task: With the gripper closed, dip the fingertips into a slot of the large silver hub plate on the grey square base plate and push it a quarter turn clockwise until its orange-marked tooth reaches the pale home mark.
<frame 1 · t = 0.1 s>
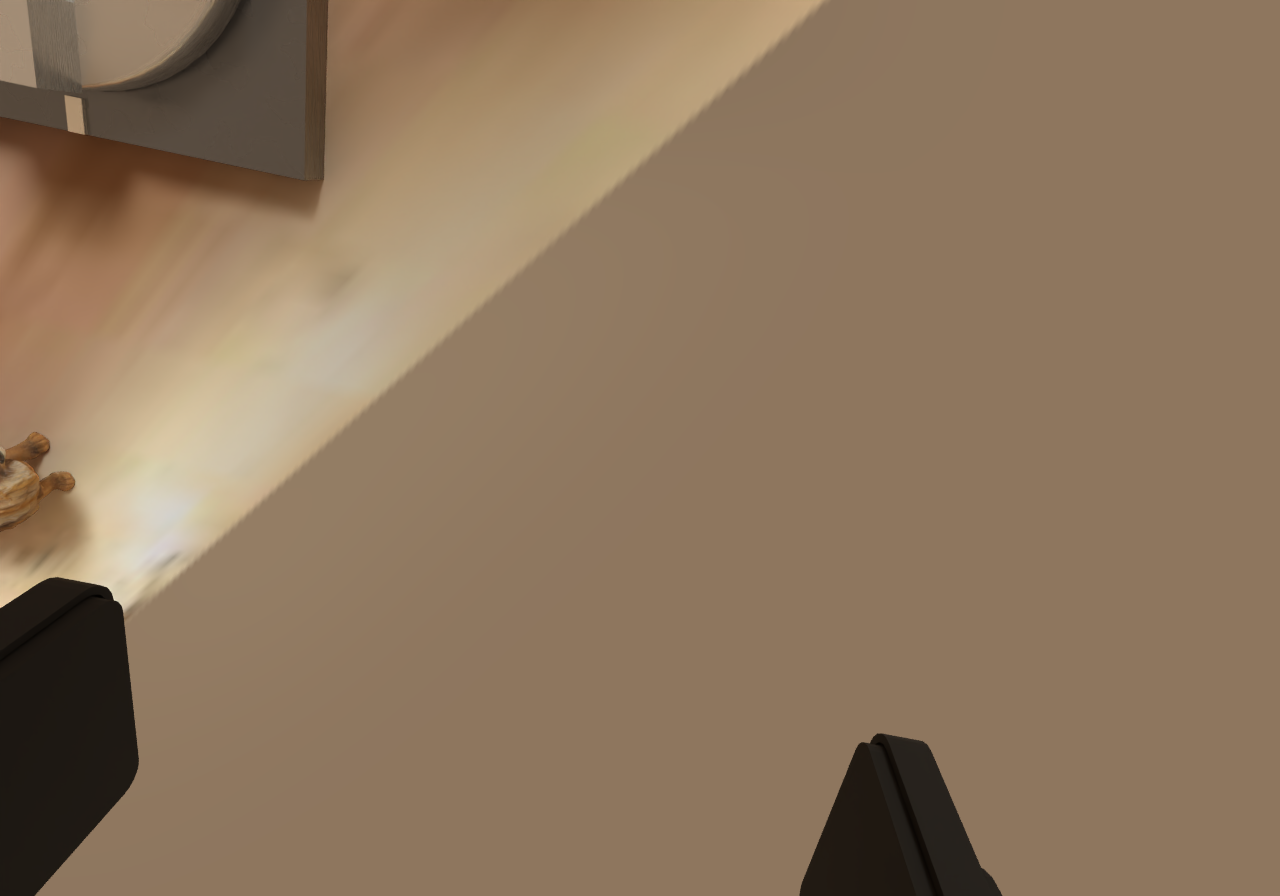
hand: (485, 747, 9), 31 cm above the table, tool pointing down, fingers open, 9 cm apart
lion figurine: (11, 454, 44), on the table
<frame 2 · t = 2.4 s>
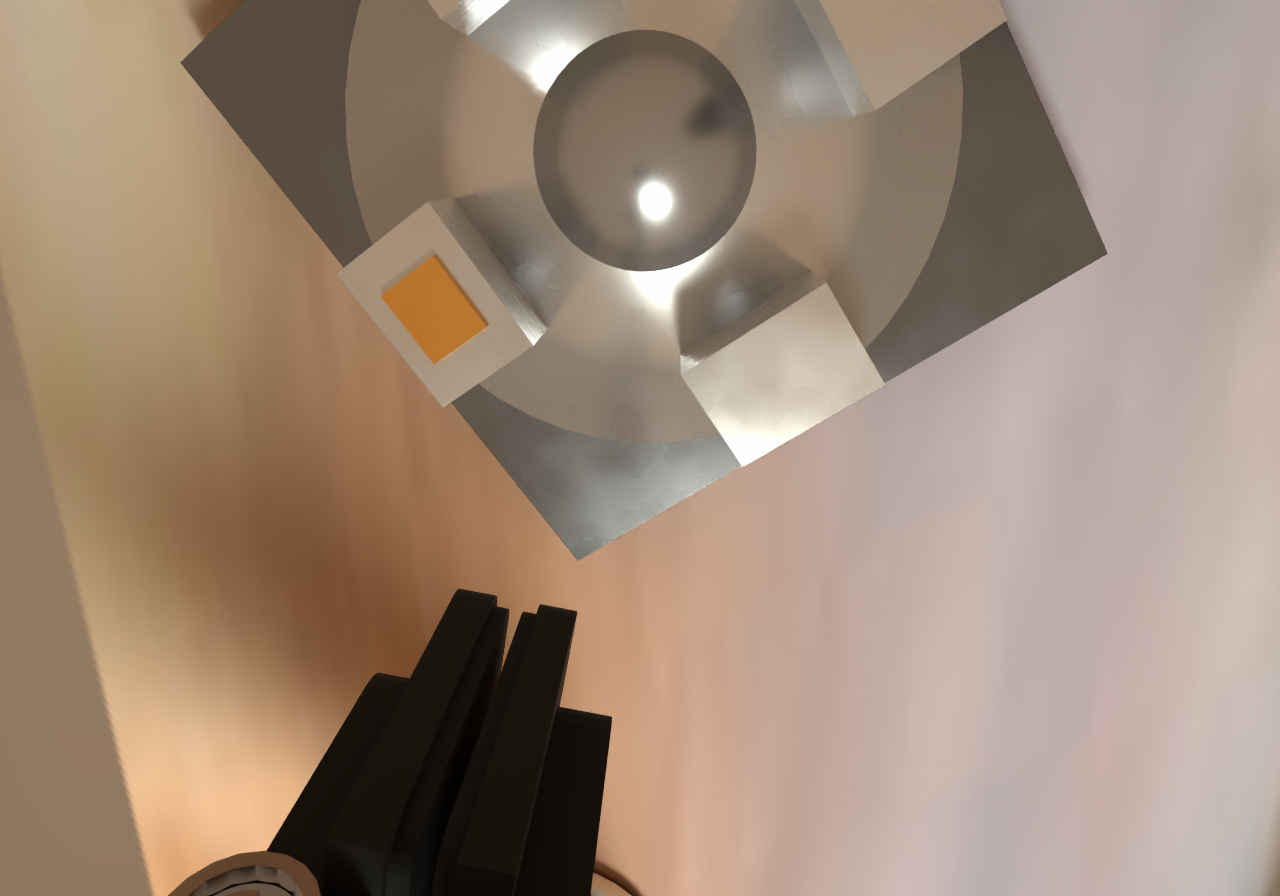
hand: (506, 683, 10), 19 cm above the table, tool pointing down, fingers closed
silver hub plate: (647, 158, 21), point 5 cm above the table, hinge at 0.0°
grey square base plate: (652, 159, 25), on the table
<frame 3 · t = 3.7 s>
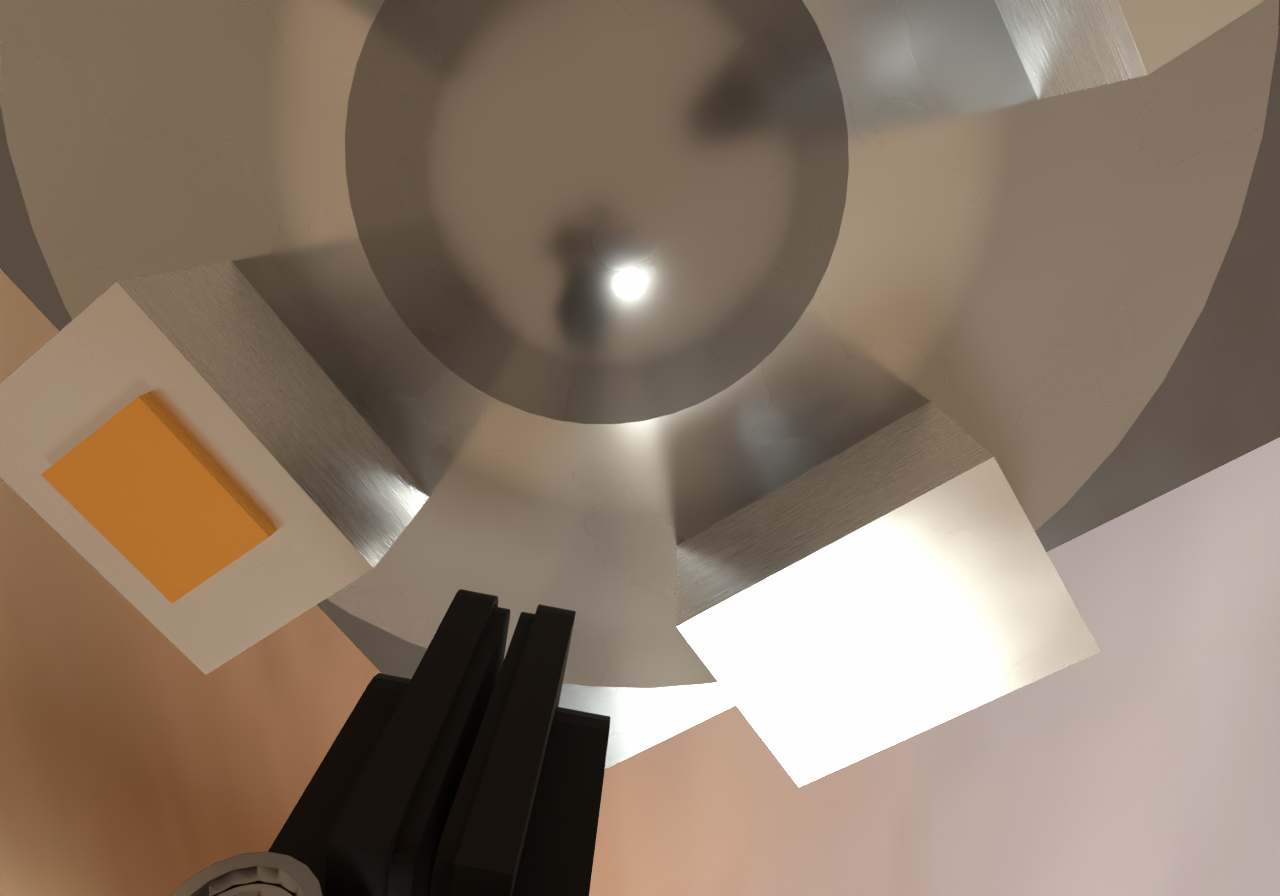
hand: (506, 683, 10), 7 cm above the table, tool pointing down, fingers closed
silver hub plate: (608, 185, 10), point 5 cm above the table, hinge at 0.0°
grey square base plate: (629, 184, 15), on the table
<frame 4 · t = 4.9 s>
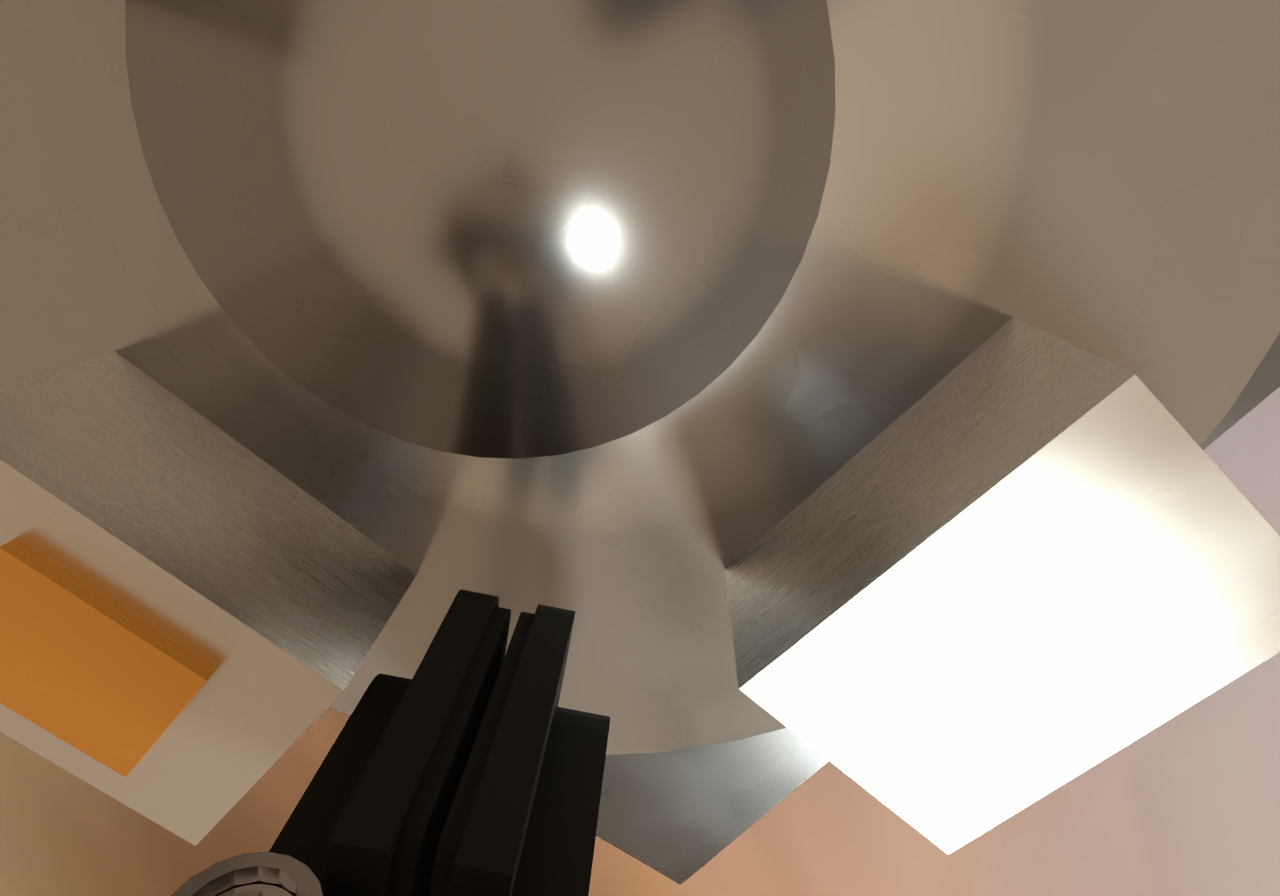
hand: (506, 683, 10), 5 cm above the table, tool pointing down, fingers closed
silver hub plate: (523, 140, 8), point 5 cm above the table, hinge at 4.8°, touching gripper
grey square base plate: (579, 147, 12), on the table
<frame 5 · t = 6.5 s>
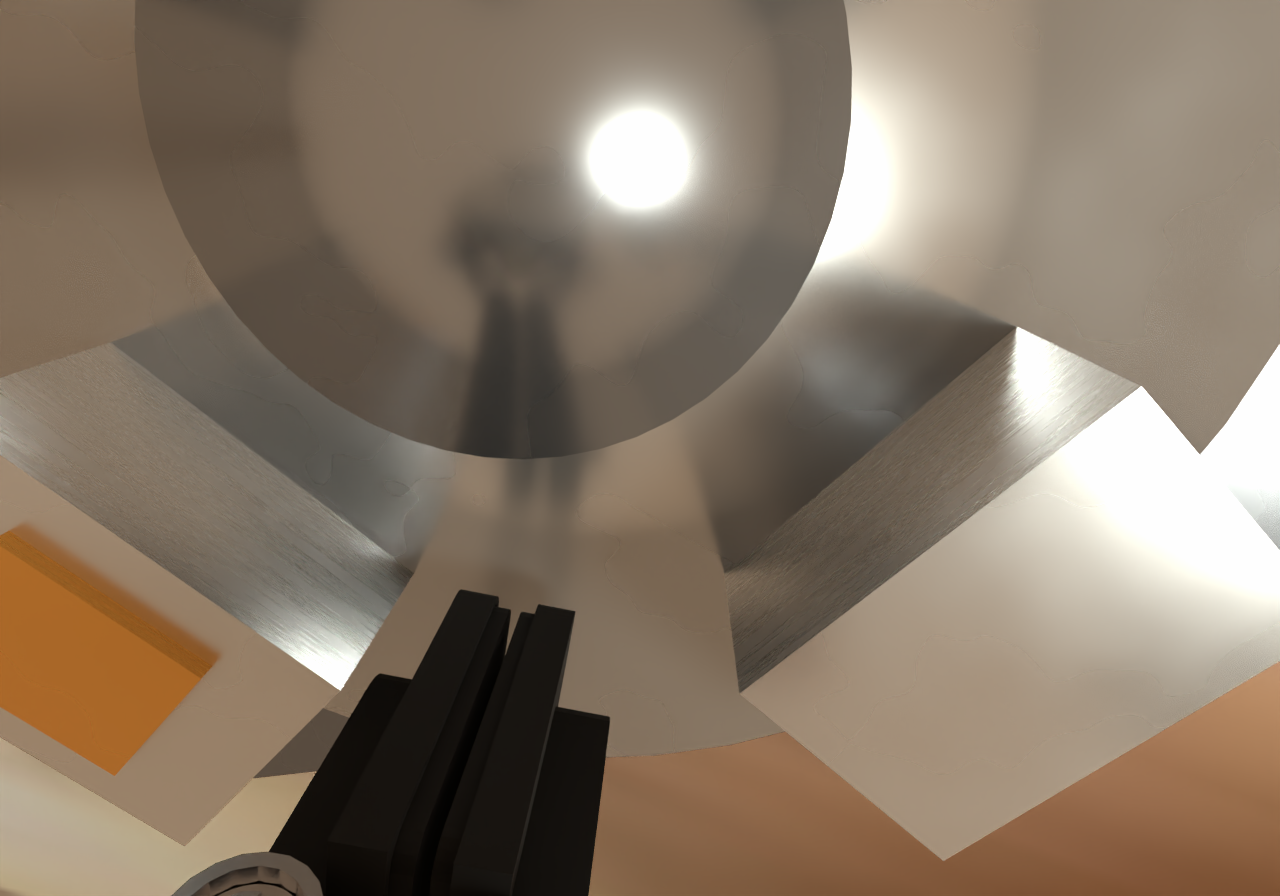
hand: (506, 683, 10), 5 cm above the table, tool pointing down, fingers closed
silver hub plate: (532, 139, 8), point 5 cm above the table, hinge at 54.1°, touching gripper
grey square base plate: (583, 147, 12), on the table
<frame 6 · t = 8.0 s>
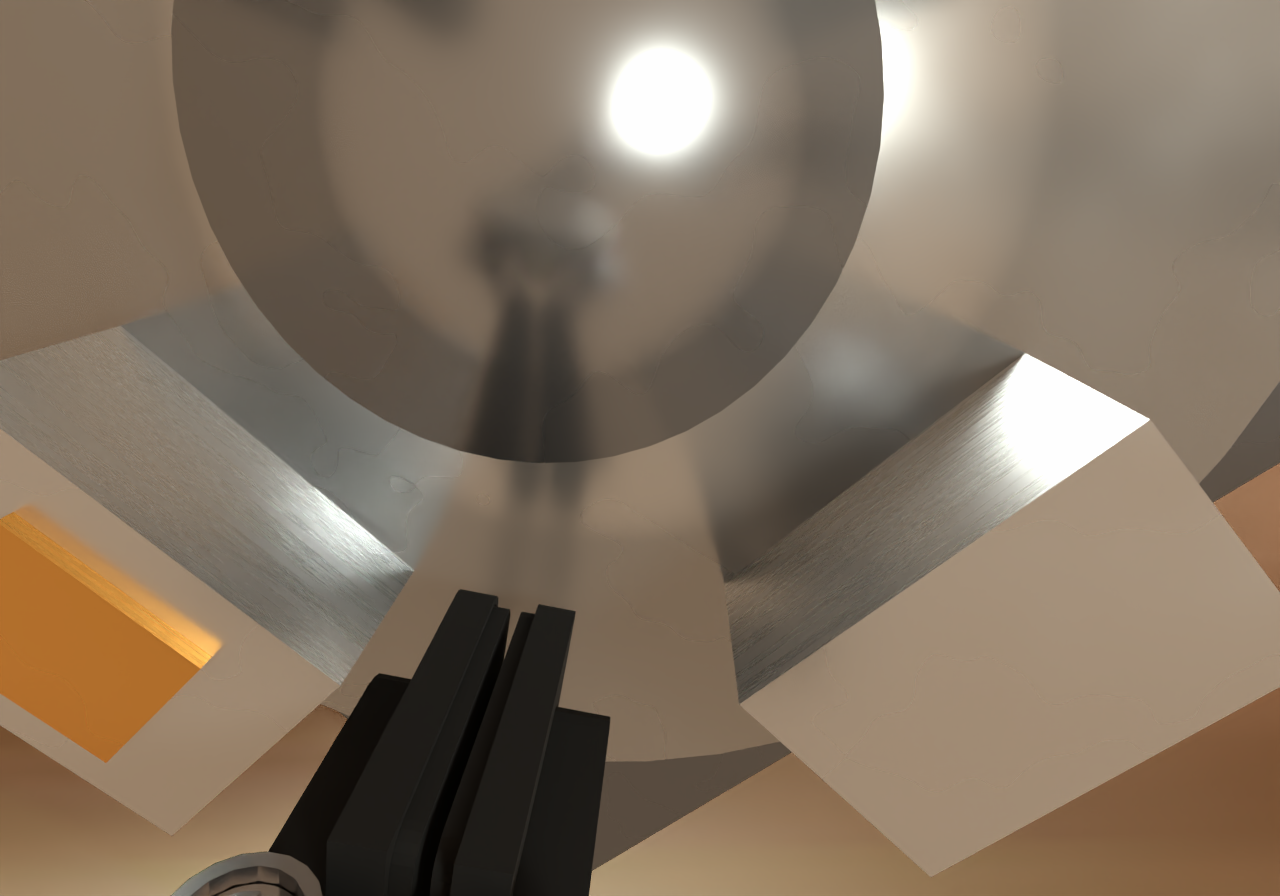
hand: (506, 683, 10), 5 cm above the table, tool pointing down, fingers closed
silver hub plate: (558, 145, 8), point 5 cm above the table, hinge at 87.4°
grey square base plate: (599, 152, 12), on the table
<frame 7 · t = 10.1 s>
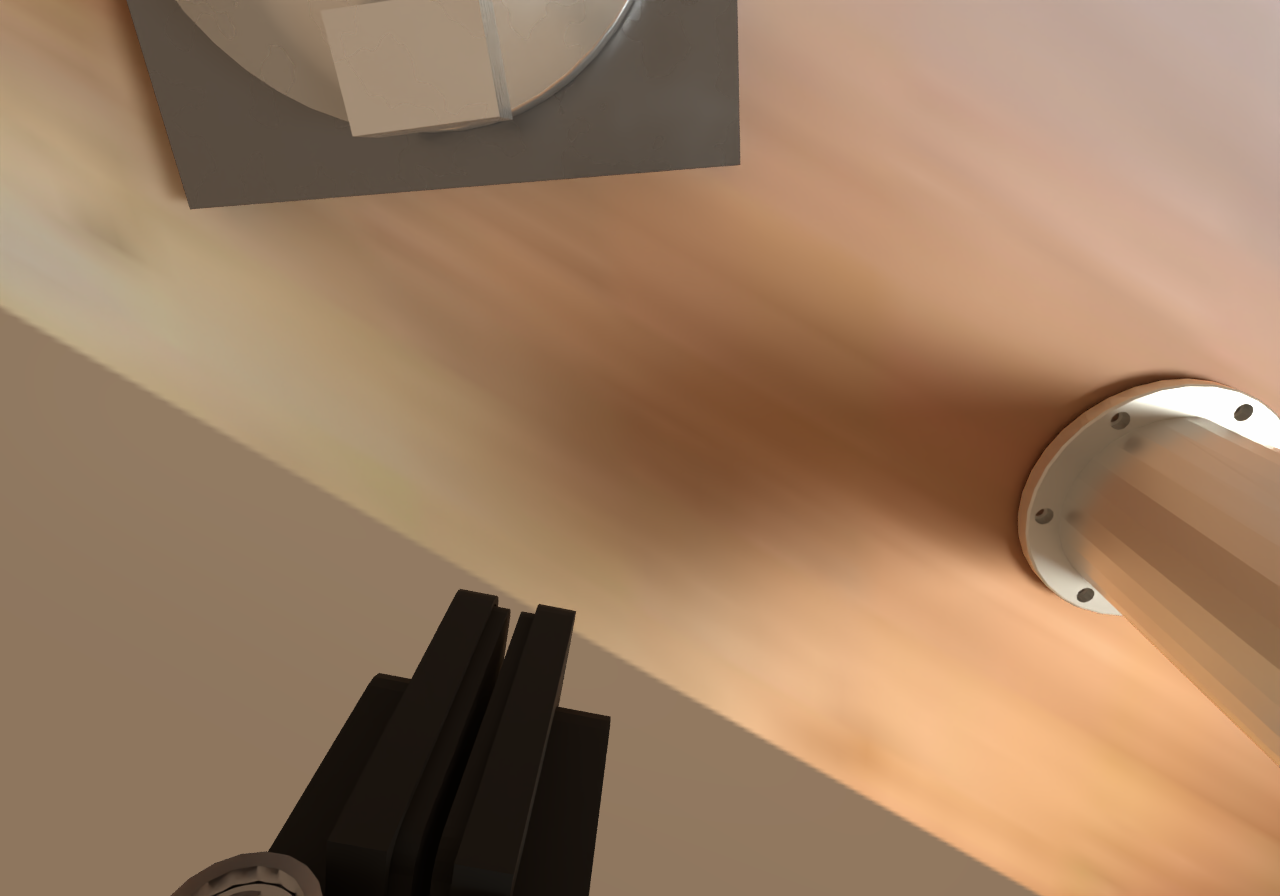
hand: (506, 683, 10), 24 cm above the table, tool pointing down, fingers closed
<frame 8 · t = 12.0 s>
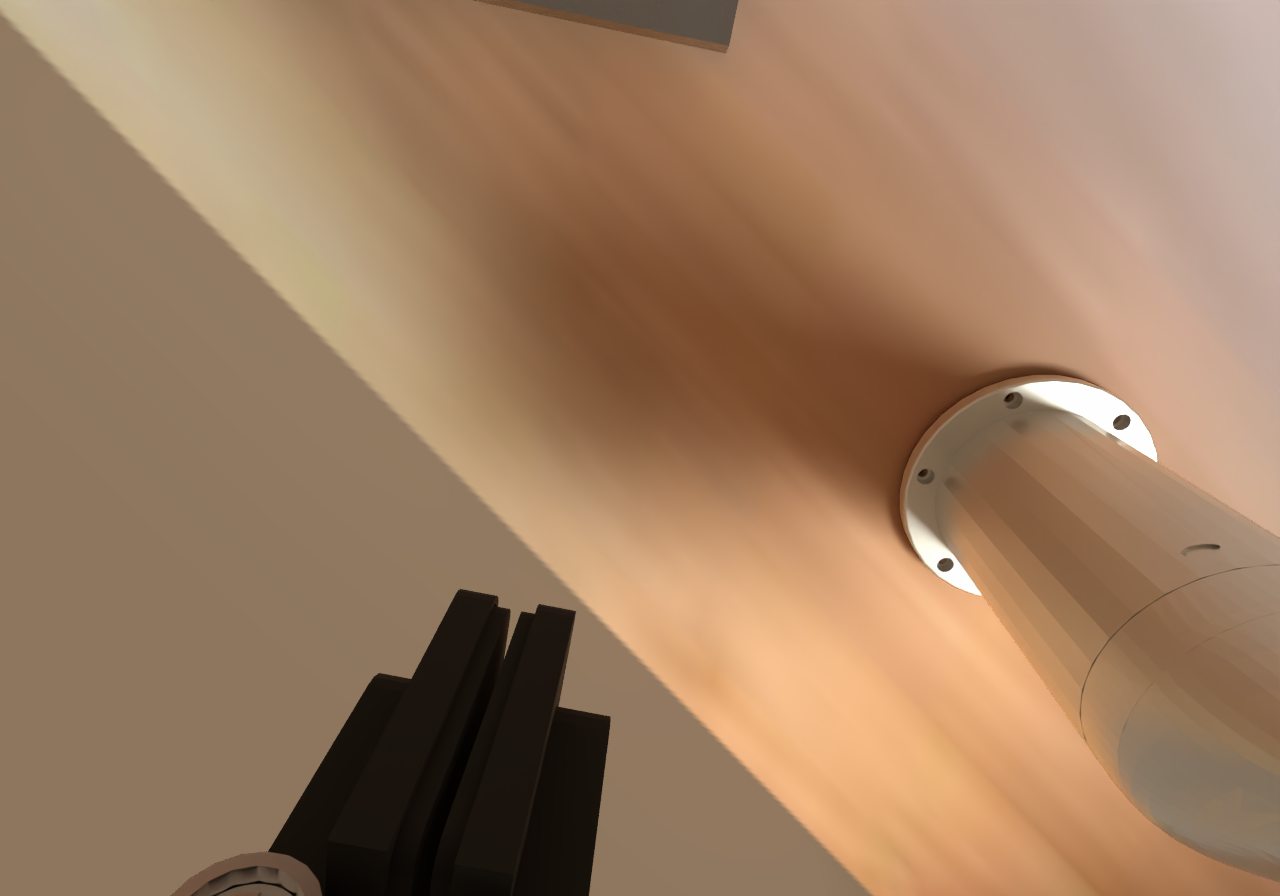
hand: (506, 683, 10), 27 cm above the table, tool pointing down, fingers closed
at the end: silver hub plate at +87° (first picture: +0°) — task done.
